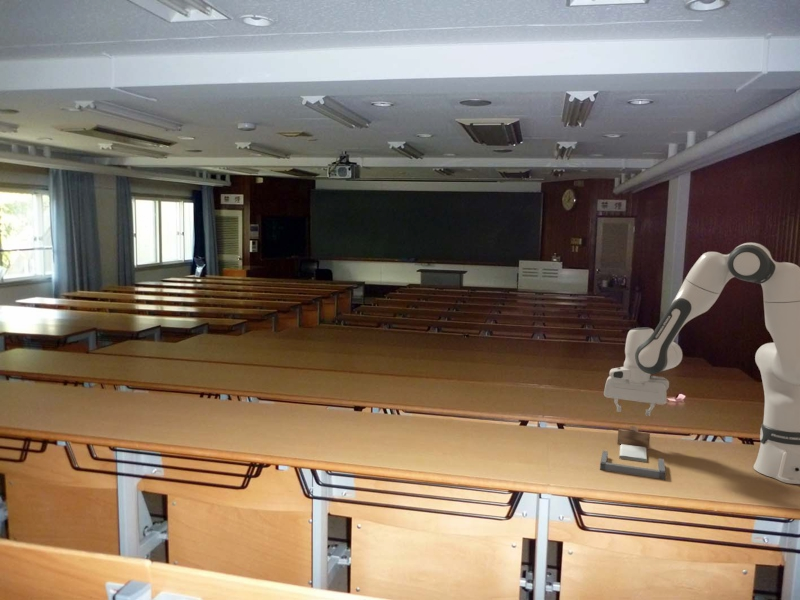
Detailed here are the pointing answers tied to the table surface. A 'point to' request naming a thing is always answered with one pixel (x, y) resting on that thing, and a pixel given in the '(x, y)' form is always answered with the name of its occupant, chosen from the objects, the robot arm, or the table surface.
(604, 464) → the bay
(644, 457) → the hard drive
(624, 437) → the pusher
